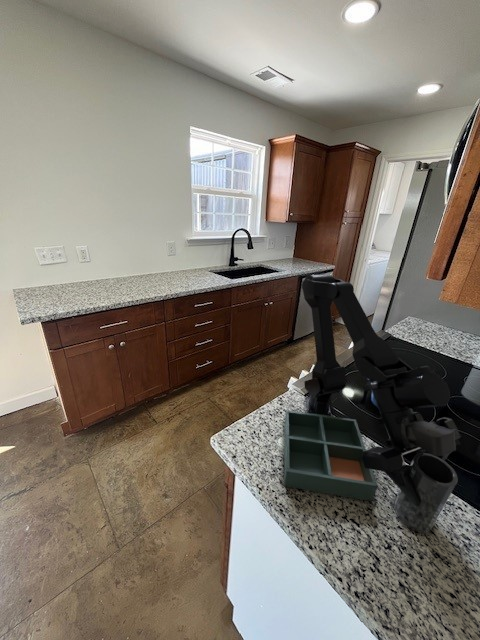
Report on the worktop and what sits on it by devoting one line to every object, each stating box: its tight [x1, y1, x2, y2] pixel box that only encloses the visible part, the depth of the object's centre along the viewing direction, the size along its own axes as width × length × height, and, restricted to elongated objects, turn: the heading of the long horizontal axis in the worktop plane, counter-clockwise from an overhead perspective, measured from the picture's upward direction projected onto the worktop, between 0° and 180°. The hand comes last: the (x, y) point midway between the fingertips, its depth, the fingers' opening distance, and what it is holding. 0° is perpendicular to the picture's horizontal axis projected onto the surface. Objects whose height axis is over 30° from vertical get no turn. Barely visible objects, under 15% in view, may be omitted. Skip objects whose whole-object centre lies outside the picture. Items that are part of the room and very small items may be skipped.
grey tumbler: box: [393, 453, 459, 534], centre depth 49 cm, size 6×6×13 cm
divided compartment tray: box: [283, 409, 378, 502], centre depth 62 cm, size 18×18×5 cm
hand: (430, 499), depth 48 cm, fingers closed on grey tumbler, 6 cm apart
